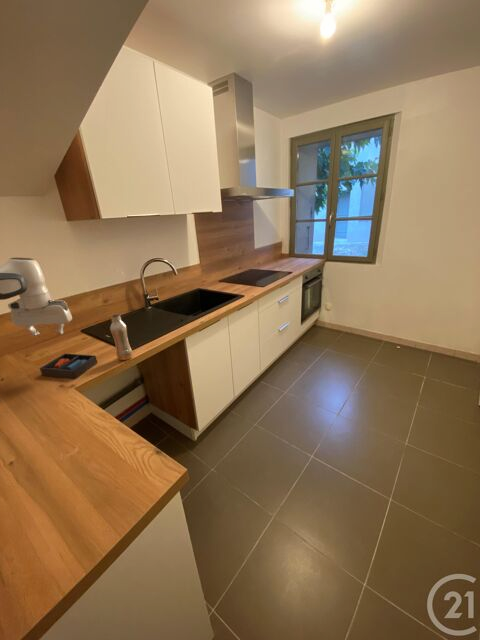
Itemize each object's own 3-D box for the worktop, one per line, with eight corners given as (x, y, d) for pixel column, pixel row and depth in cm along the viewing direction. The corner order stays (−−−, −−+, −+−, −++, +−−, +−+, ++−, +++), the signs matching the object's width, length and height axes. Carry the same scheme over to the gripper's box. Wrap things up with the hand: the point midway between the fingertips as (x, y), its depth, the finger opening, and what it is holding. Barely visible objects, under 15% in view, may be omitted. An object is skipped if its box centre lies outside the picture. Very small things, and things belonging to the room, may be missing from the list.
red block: (63, 371, 106) (61, 364, 105) (53, 372, 105) (51, 366, 104) (71, 361, 114) (69, 355, 112) (62, 362, 113) (59, 356, 112)
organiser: (42, 375, 105) (39, 368, 104) (67, 360, 116) (64, 353, 115) (75, 379, 102) (72, 371, 100) (97, 362, 113) (95, 355, 111)
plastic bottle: (122, 363, 111) (111, 319, 104) (115, 358, 115) (104, 316, 108) (136, 357, 115) (126, 315, 108) (129, 353, 120) (119, 312, 112)
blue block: (74, 373, 104) (72, 367, 103) (66, 373, 105) (64, 366, 103) (90, 363, 111) (88, 356, 110) (82, 362, 112) (80, 356, 111)
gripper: (69, 297, 101) (79, 329, 106) (15, 300, 100) (28, 332, 105) (60, 301, 95) (71, 336, 100) (2, 305, 95) (16, 339, 100)
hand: (48, 334), depth 103 cm, fingers open, 8 cm apart
